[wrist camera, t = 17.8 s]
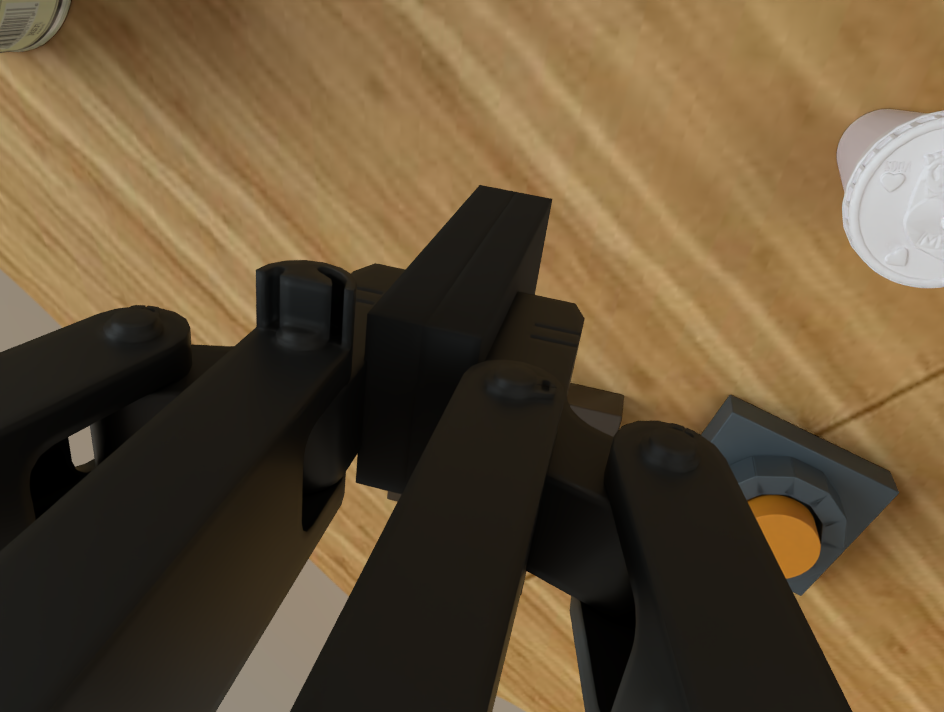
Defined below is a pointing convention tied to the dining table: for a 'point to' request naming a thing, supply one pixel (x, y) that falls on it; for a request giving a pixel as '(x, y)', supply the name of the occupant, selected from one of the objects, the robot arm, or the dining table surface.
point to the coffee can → (30, 23)
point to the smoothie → (896, 194)
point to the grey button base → (802, 477)
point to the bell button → (788, 532)
